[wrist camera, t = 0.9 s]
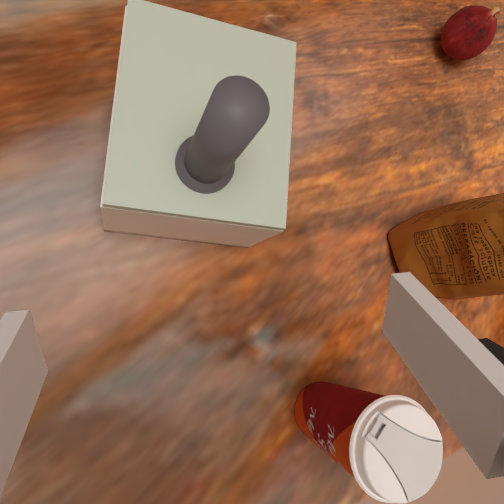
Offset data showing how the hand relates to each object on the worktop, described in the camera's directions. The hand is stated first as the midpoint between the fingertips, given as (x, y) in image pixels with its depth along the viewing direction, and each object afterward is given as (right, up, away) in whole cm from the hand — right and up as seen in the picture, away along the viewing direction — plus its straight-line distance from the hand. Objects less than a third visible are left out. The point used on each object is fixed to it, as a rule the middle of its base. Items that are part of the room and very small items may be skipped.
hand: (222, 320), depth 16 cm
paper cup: (+8, -14, +28) cm, 32 cm away
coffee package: (+23, +2, +35) cm, 42 cm away
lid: (-2, +13, +17) cm, 22 cm away
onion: (+26, +29, +40) cm, 56 cm away
